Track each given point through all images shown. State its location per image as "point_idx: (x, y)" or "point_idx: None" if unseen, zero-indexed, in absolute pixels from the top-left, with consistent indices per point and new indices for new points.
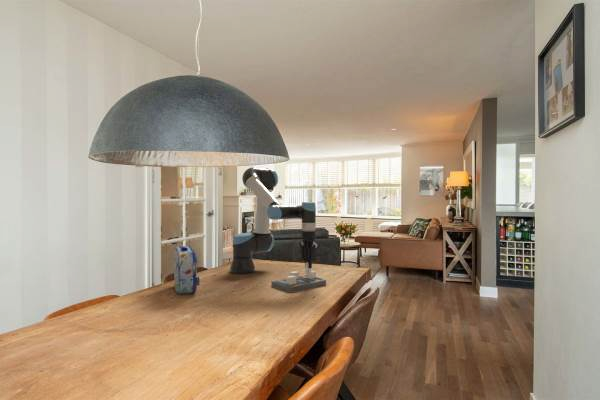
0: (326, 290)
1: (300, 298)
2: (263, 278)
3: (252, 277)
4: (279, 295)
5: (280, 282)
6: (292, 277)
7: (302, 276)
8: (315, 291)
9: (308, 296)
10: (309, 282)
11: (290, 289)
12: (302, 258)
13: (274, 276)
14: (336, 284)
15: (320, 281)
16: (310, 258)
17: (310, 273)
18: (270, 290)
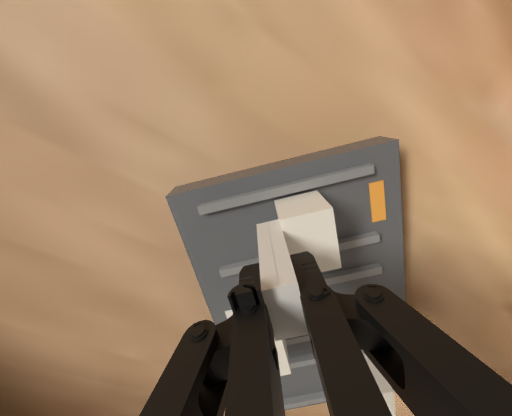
0: (482, 208)
1: (491, 362)
2: (74, 378)
3: (37, 410)
4: (401, 406)
5: (310, 402)
6: (394, 410)
7: (206, 242)
8: (454, 268)
9: (494, 328)
10: (383, 275)
11: None
12: (206, 389)
13: (32, 320)
14: (416, 53)
15: (400, 198)
16: (388, 377)
17: (338, 262)
18: (315, 410)
